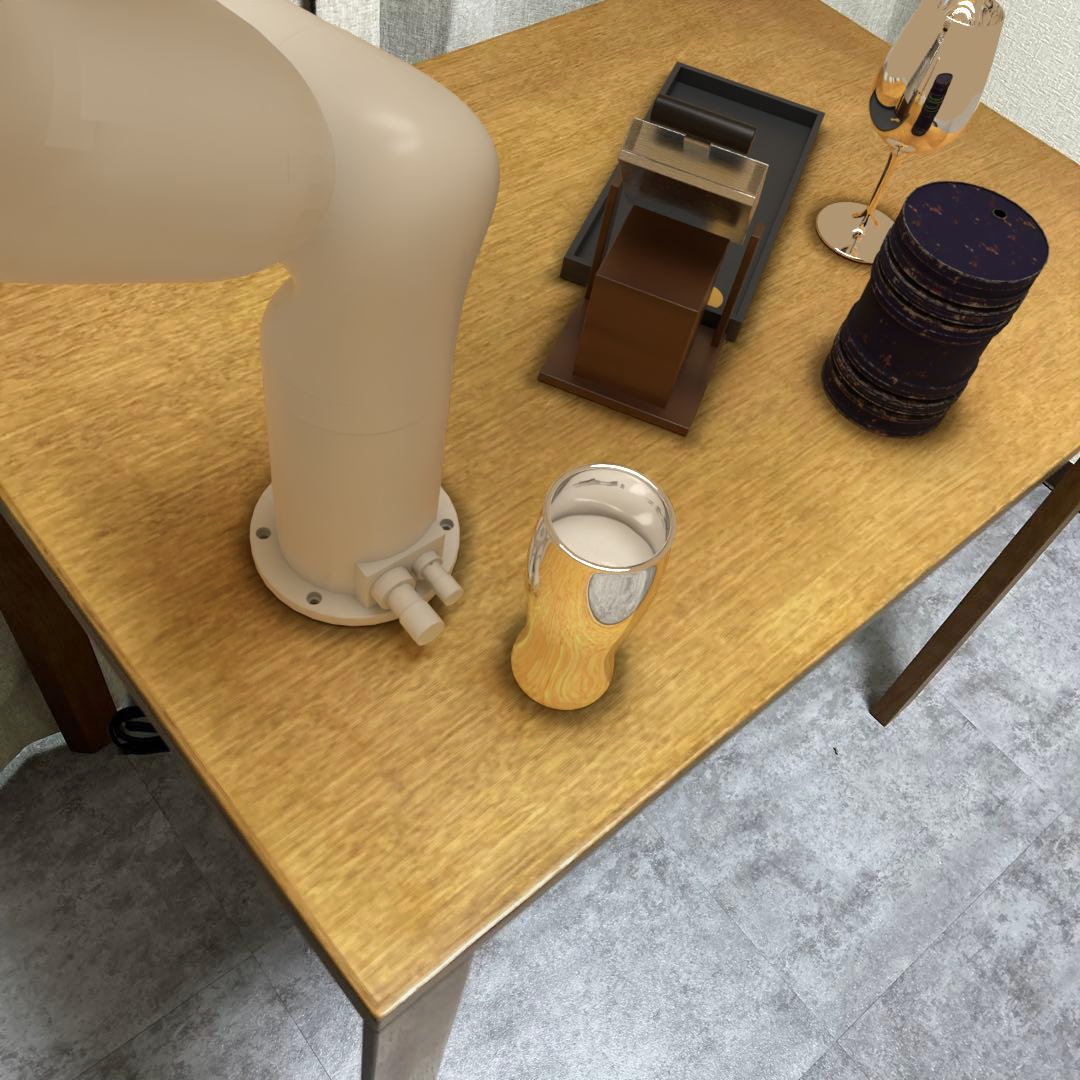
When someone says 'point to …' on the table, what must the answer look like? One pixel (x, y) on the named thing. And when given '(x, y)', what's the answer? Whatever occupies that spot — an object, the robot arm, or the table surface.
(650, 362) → the stand
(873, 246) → the wineglass
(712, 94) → the tray
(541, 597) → the beer glass
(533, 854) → the table surface
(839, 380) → the dark purple cylinder
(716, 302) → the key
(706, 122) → the translucent box
